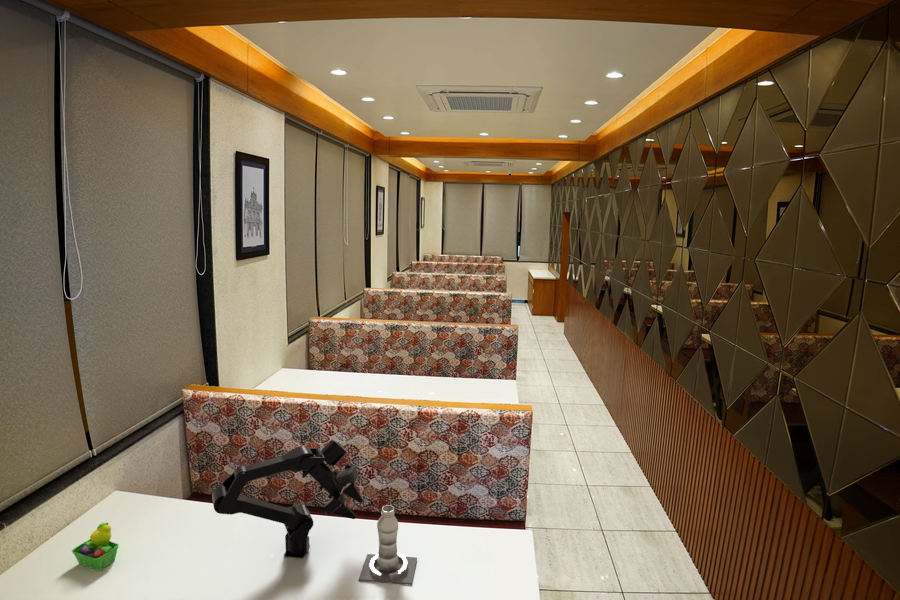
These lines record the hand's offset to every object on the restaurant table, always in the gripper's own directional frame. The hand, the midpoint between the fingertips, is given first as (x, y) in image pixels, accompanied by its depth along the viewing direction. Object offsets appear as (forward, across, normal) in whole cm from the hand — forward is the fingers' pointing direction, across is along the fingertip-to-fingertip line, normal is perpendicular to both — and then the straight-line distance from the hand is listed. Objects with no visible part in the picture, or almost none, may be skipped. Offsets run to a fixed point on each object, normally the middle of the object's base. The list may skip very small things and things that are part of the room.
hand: (358, 509), depth 171 cm
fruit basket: (-46, -15, +65) cm, 81 cm away
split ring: (+18, -10, +1) cm, 20 cm away
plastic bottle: (+17, -10, +1) cm, 20 cm away
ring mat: (+18, -10, +1) cm, 20 cm away
